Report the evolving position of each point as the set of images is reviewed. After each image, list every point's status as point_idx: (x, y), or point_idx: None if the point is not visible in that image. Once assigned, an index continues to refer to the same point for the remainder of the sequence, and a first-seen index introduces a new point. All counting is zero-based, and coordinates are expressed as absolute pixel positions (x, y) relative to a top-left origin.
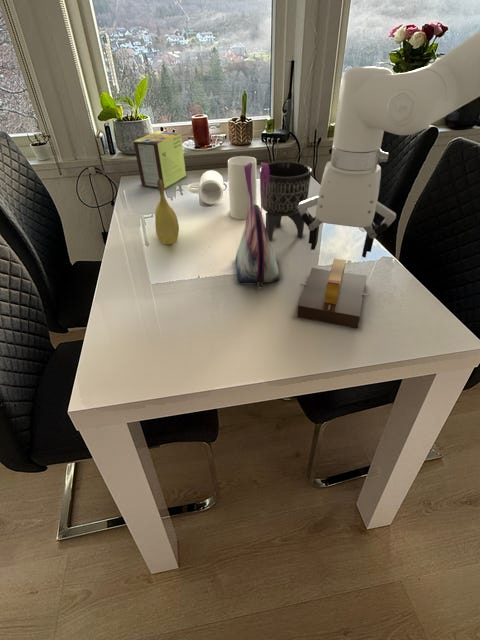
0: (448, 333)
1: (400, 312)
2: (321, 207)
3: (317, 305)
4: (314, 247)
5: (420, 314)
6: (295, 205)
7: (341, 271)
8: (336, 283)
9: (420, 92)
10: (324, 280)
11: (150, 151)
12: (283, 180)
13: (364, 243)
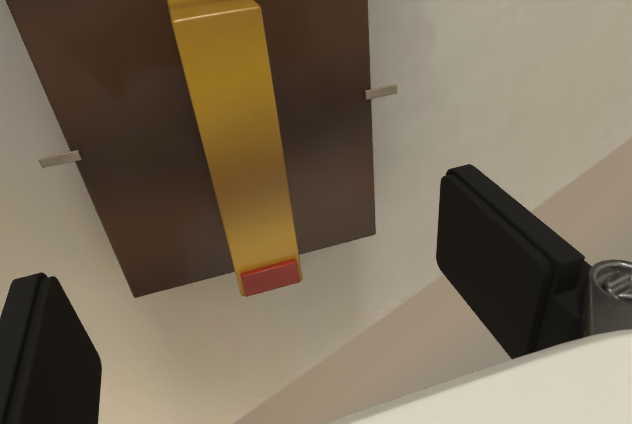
0: (621, 83)
1: (495, 36)
2: None
3: (208, 260)
4: (98, 380)
5: (564, 13)
6: None
7: (276, 166)
8: (287, 284)
9: None
10: (144, 57)
11: None
12: None
13: (476, 230)
